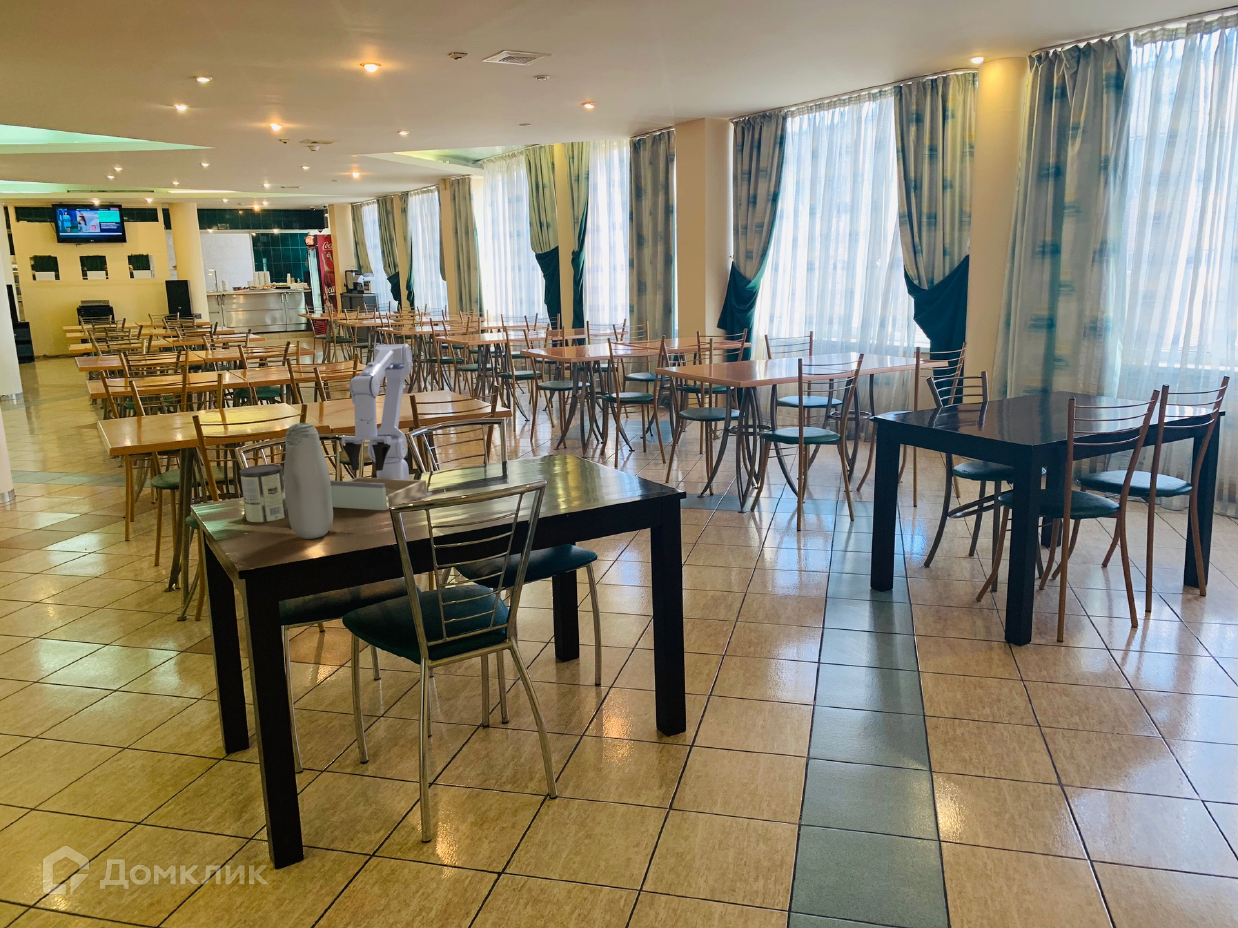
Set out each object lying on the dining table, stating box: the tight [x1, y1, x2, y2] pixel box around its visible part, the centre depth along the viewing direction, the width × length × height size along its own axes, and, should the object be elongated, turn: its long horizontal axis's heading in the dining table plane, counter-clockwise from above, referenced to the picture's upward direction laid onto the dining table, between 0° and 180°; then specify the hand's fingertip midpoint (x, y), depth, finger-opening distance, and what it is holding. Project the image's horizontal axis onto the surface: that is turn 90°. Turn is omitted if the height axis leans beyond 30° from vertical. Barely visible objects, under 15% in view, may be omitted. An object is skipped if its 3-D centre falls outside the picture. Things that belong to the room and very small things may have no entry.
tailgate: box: [330, 480, 388, 511], centre depth 236 cm, size 1×19×7 cm, turn 71°
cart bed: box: [348, 476, 428, 510], centre depth 246 cm, size 17×22×5 cm
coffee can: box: [239, 463, 288, 527], centre depth 230 cm, size 10×10×14 cm
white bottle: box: [283, 422, 334, 540], centre depth 212 cm, size 10×10×28 cm
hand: (367, 470), depth 242 cm, fingers open, 7 cm apart
